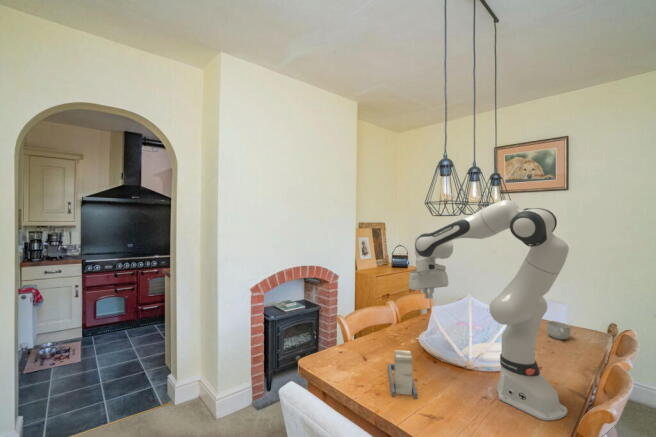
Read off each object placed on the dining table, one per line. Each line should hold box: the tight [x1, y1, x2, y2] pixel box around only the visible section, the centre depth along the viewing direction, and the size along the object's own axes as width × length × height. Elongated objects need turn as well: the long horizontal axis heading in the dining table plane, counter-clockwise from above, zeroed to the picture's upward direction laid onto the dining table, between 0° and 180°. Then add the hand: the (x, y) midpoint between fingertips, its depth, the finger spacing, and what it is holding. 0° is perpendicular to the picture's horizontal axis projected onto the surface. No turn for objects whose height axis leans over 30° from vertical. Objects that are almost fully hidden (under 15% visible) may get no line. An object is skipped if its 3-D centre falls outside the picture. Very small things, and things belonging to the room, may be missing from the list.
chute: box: [387, 363, 418, 400], centre depth 127 cm, size 22×10×3 cm, turn 173°
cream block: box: [393, 349, 413, 396], centre depth 121 cm, size 6×6×14 cm
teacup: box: [546, 320, 572, 341], centre depth 176 cm, size 14×11×8 cm
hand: (428, 298), depth 143 cm, fingers closed
